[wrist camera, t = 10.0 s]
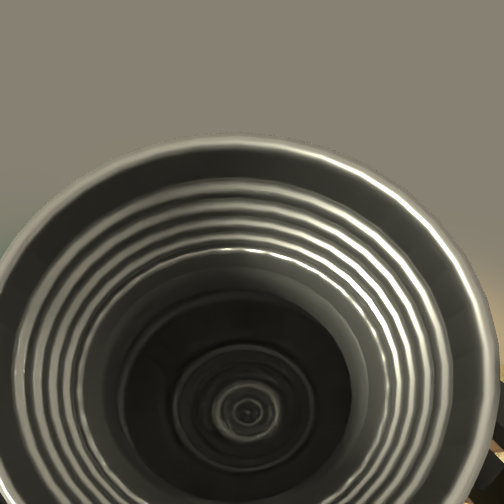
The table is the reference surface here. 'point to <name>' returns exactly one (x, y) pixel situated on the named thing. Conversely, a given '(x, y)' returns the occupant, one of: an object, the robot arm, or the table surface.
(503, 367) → the table surface
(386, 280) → the silver bottle
